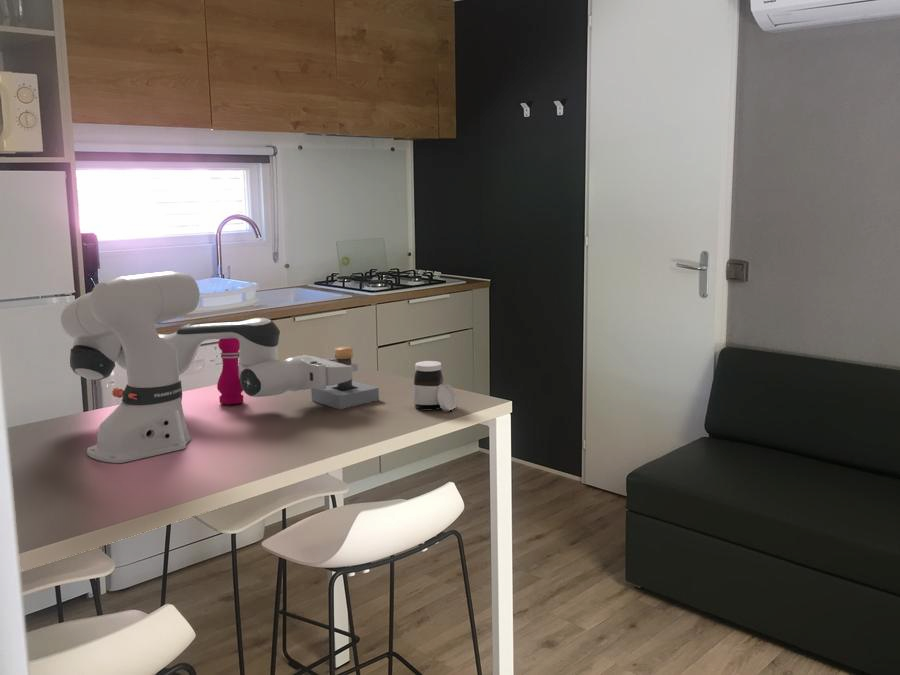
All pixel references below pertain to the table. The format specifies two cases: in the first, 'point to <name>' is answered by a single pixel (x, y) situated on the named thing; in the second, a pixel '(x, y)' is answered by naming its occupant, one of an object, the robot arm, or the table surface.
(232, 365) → the pepper mill
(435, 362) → the spread jar
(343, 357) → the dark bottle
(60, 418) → the table surface
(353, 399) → the socket
